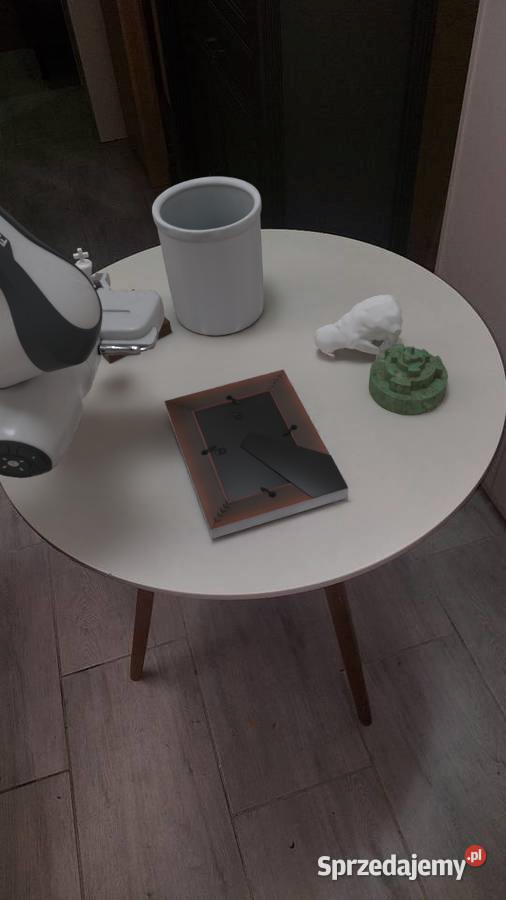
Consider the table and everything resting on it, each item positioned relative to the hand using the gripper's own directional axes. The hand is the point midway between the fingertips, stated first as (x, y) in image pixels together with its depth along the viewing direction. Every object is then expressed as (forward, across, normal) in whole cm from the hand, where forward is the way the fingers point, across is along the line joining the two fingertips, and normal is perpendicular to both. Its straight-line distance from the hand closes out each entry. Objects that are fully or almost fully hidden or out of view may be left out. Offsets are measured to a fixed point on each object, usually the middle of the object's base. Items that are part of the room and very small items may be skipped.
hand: (89, 277), depth 83 cm
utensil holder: (+16, -12, +17) cm, 27 cm away
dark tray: (+11, +1, +17) cm, 20 cm away
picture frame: (-13, -20, +17) cm, 29 cm away
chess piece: (-1, 0, +6) cm, 6 cm away
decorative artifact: (-1, -40, +17) cm, 43 cm away
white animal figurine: (+7, -33, +17) cm, 38 cm away
